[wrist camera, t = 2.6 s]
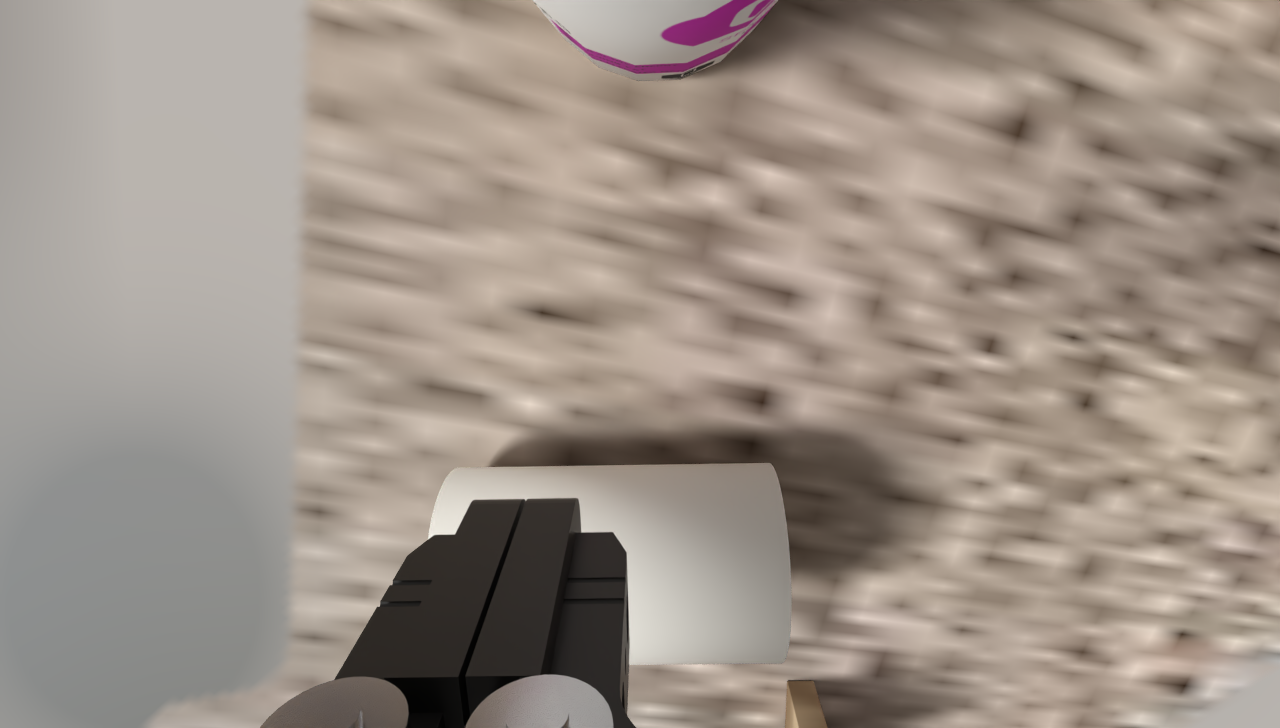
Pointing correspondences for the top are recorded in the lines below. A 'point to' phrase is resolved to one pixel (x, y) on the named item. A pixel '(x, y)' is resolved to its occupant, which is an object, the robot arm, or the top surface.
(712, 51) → the supplement can
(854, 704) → the top surface
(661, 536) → the roll
